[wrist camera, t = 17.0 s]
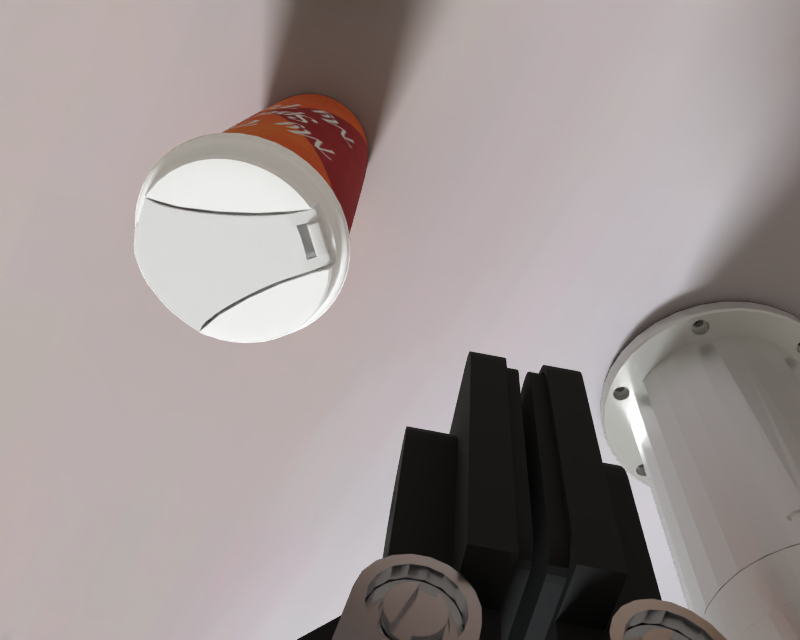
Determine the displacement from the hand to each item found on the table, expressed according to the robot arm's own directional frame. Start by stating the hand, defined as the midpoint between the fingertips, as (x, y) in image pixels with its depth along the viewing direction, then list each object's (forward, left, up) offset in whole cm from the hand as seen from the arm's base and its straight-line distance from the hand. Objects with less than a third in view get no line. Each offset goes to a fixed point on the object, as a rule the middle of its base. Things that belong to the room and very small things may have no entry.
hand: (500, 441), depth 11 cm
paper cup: (+8, +4, -27) cm, 29 cm away
